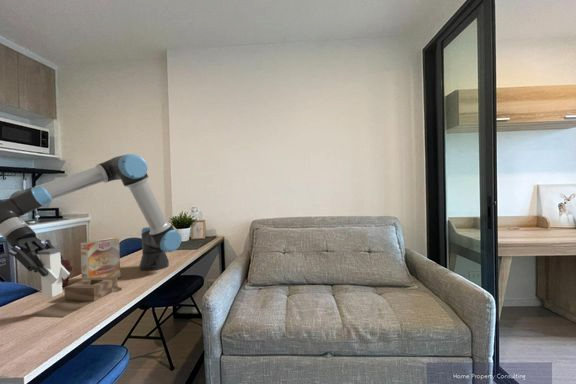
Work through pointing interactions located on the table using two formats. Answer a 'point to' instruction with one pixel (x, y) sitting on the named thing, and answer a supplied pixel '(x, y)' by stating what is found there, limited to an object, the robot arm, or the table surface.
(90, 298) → the wooden socket base
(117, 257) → the coffeecake box
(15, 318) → the table surface
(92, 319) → the table surface
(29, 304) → the table surface
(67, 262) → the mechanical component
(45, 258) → the post
